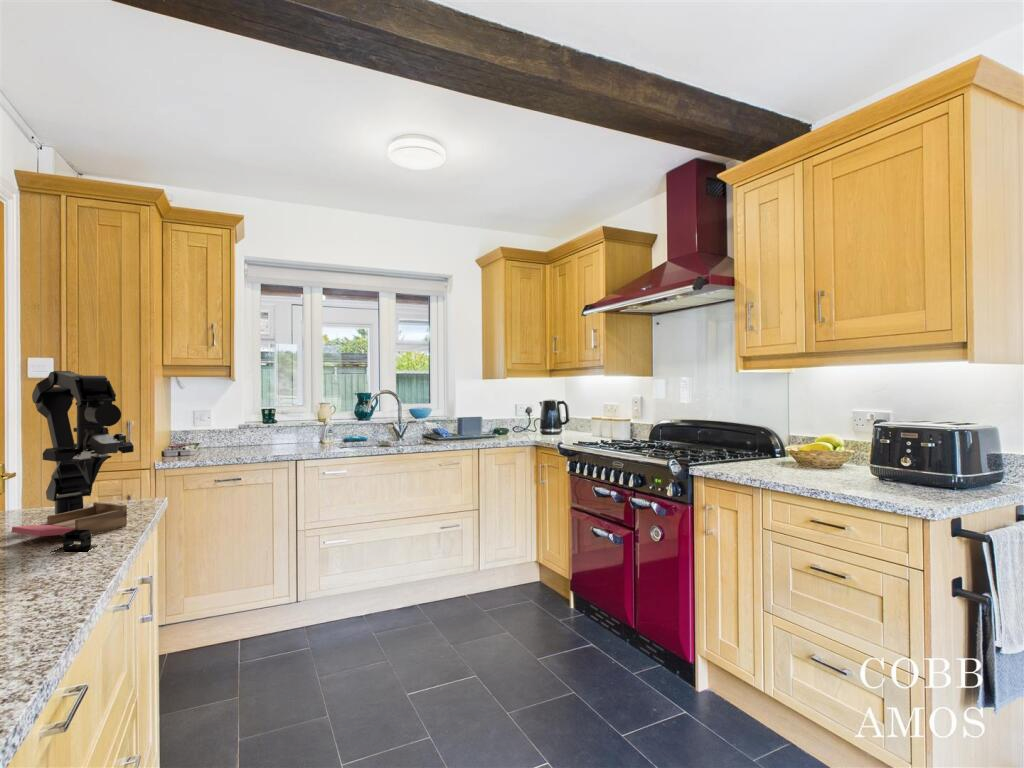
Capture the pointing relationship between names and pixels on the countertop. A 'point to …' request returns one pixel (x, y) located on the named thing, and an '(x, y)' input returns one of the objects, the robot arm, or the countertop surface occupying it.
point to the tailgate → (41, 530)
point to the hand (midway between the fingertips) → (90, 483)
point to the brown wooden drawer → (92, 518)
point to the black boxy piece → (77, 536)
